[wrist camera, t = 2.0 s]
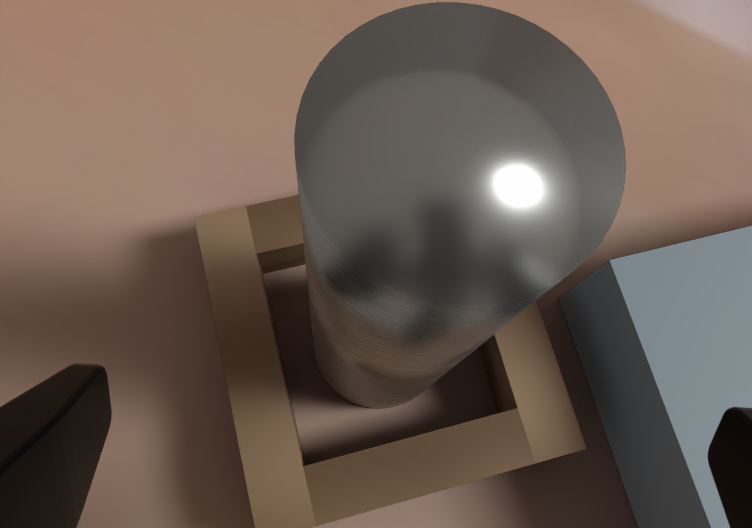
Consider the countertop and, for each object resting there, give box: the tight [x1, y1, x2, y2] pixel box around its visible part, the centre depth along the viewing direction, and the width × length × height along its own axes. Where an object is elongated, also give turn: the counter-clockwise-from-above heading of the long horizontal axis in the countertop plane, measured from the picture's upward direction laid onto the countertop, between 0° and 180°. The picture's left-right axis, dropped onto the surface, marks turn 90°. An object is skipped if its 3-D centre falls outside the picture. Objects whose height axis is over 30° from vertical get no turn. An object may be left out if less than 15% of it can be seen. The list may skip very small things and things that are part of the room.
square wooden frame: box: [194, 195, 587, 528], centre depth 19 cm, size 9×9×2 cm
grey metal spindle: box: [294, 2, 626, 409], centre depth 14 cm, size 4×4×13 cm
